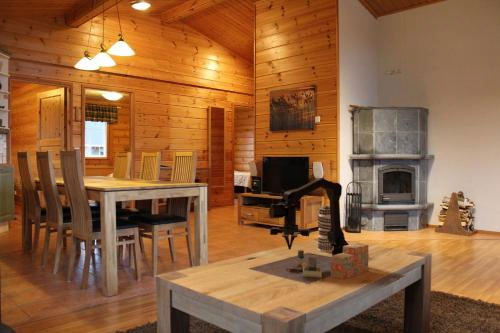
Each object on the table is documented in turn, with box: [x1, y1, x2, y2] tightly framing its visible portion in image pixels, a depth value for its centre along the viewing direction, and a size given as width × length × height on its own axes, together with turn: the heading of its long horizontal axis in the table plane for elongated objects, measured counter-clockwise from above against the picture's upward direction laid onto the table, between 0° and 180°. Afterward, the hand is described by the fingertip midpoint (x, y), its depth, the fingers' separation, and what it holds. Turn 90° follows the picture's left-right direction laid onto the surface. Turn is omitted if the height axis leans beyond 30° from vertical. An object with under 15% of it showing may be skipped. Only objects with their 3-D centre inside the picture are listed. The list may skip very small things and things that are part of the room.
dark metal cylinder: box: [307, 256, 318, 271], centre depth 193 cm, size 4×4×7 cm
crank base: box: [292, 261, 307, 272], centre depth 201 cm, size 6×6×4 cm
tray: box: [302, 265, 323, 279], centre depth 193 cm, size 8×8×2 cm
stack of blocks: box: [330, 242, 369, 280], centre depth 196 cm, size 21×6×12 cm, turn 135°
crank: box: [295, 249, 305, 266], centre depth 205 cm, size 11×3×5 cm, turn 170°
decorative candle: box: [317, 205, 333, 253], centre depth 244 cm, size 9×9×25 cm
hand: (289, 249), depth 210 cm, fingers closed
